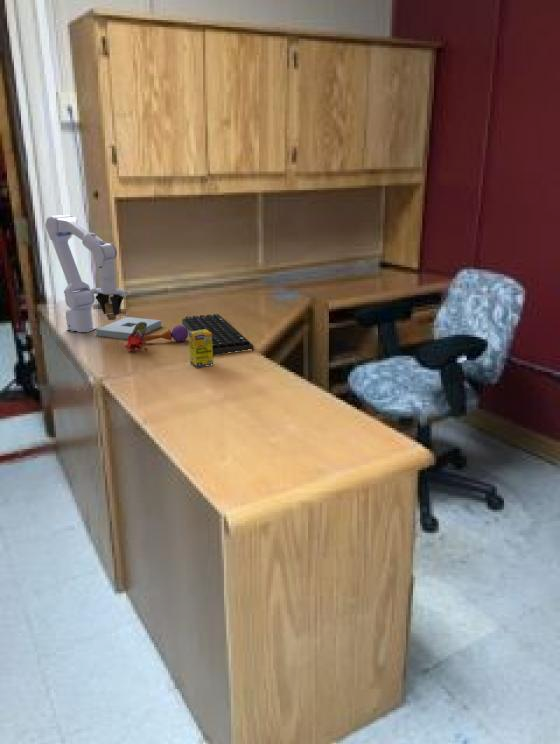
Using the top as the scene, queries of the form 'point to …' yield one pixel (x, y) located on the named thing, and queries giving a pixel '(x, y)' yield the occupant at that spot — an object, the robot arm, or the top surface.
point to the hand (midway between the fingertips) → (111, 314)
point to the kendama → (170, 335)
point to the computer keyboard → (218, 333)
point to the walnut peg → (109, 311)
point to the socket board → (126, 327)
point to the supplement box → (200, 348)
